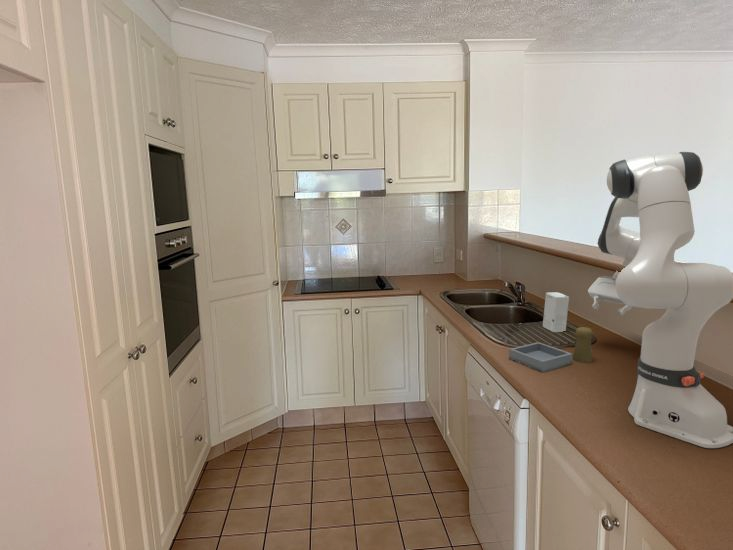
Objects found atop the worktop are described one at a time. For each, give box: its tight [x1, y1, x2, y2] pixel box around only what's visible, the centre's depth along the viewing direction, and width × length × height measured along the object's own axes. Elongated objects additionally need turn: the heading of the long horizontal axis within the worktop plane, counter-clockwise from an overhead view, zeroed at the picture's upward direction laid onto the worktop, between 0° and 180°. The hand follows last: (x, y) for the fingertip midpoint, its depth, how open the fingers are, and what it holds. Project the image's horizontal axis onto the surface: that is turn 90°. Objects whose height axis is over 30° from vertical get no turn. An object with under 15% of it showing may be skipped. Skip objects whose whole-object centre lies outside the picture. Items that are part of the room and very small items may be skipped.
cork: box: [572, 326, 594, 364], centre depth 156 cm, size 6×6×11 cm
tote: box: [508, 341, 574, 373], centre depth 156 cm, size 14×14×4 cm
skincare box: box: [542, 291, 570, 333], centre depth 189 cm, size 8×6×15 cm
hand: (607, 310), depth 160 cm, fingers open, 8 cm apart
